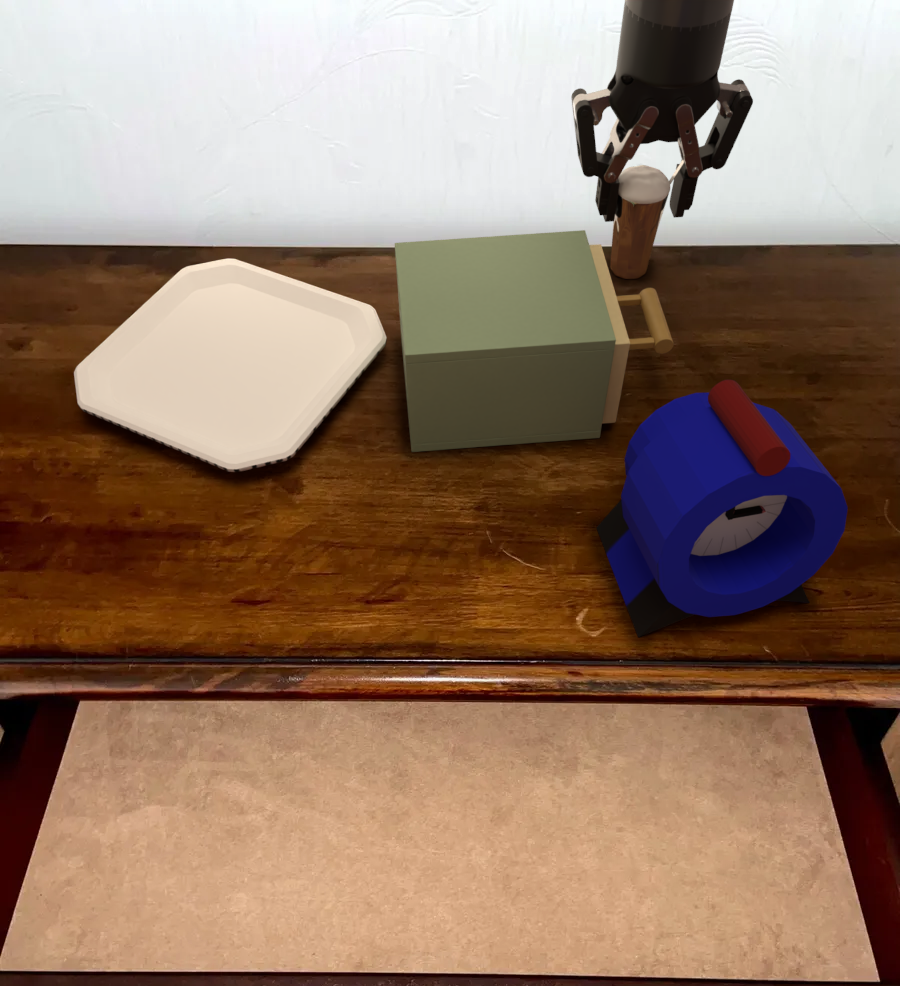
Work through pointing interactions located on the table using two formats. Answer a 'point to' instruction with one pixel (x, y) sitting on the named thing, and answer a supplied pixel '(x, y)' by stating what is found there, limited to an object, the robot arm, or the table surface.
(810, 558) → the alarm clock
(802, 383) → the table surface
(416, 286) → the cabinet
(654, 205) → the milkshake
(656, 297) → the drawer
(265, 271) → the plate
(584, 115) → the robot arm
